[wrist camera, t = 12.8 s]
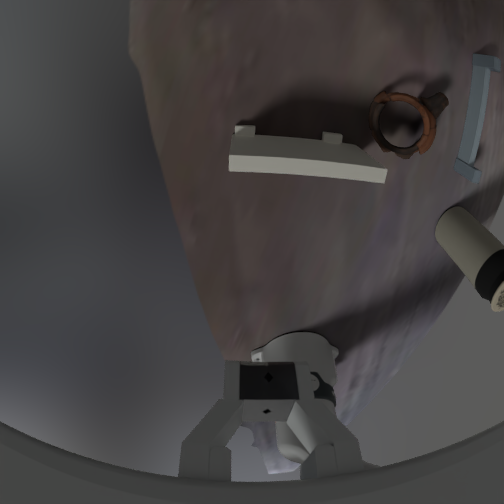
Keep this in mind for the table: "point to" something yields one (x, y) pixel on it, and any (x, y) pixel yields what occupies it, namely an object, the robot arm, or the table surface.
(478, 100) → the handle
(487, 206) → the table surface
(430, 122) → the pottery mug
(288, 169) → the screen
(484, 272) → the travel mug
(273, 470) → the table surface
